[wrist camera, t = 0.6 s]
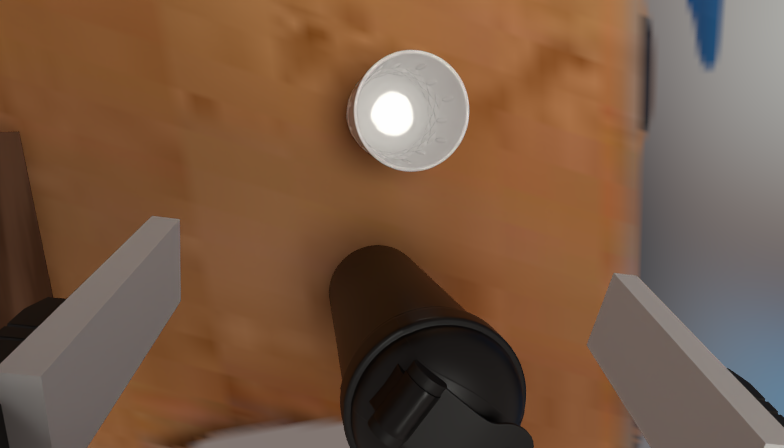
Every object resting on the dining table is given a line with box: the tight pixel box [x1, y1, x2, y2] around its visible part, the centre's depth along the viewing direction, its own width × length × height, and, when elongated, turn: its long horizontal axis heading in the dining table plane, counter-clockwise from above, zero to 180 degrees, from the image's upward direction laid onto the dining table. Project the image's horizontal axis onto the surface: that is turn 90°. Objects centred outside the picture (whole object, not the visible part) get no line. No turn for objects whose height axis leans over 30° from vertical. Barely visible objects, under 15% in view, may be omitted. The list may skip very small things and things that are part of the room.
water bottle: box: [329, 245, 534, 448], centre depth 35 cm, size 10×10×23 cm
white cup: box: [346, 50, 469, 172], centre depth 38 cm, size 8×8×10 cm
